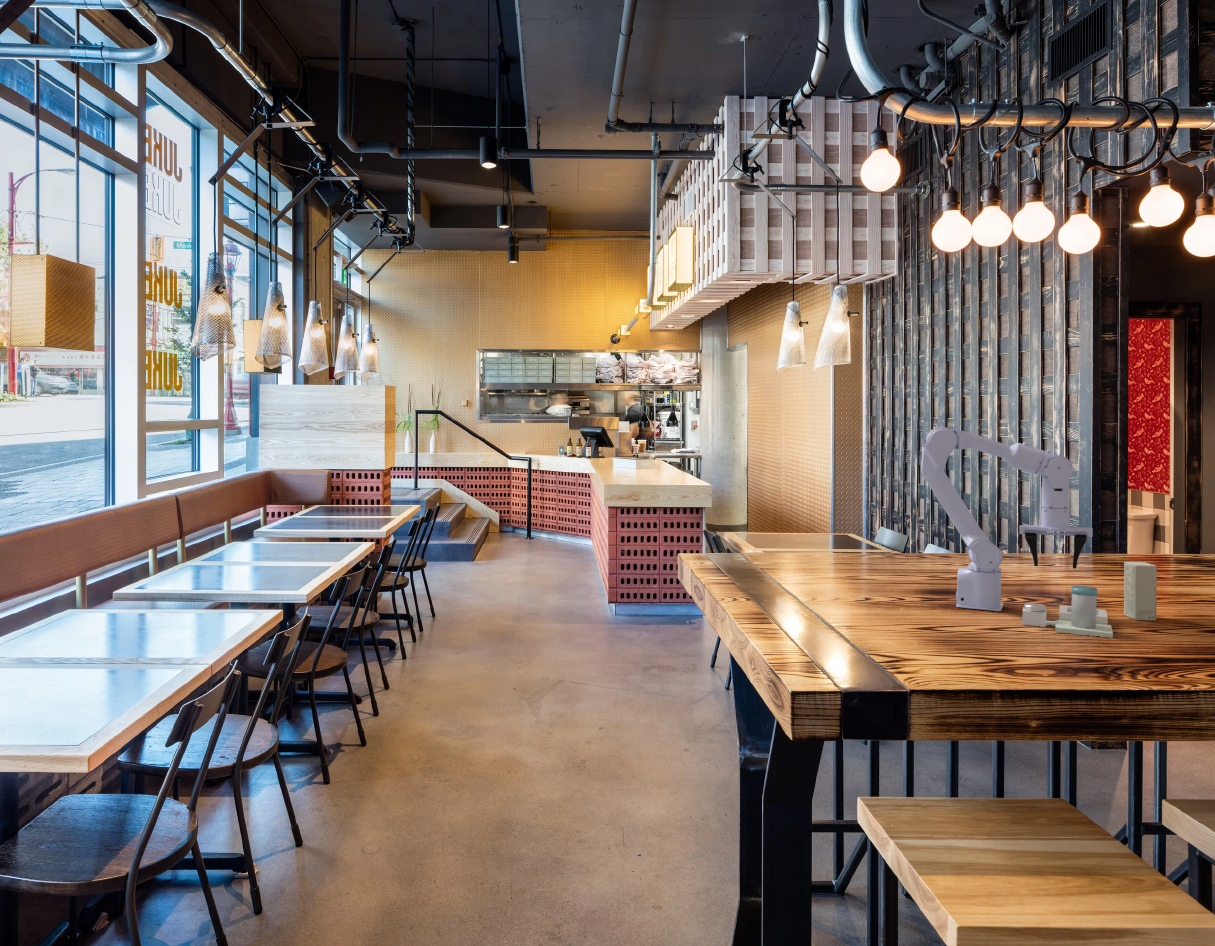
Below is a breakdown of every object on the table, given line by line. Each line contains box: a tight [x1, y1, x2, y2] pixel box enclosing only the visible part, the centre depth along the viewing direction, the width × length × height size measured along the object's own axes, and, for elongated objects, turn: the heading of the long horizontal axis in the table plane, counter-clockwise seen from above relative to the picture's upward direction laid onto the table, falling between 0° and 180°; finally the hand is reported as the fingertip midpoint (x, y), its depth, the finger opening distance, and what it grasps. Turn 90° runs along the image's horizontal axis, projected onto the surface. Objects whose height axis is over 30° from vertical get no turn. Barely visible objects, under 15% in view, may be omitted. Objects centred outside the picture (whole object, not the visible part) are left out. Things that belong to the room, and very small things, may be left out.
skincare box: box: [1123, 561, 1158, 622], centre depth 177 cm, size 6×4×12 cm
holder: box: [1021, 604, 1109, 628], centre depth 172 cm, size 16×14×3 cm
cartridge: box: [1070, 585, 1098, 629], centre depth 165 cm, size 5×5×8 cm
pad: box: [1054, 619, 1114, 639], centre depth 165 cm, size 10×8×1 cm
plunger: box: [1023, 602, 1046, 612], centre depth 171 cm, size 4×4×4 cm
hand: (1055, 566), depth 183 cm, fingers open, 7 cm apart
